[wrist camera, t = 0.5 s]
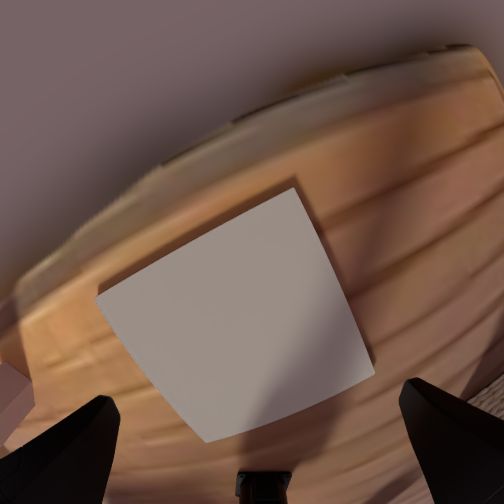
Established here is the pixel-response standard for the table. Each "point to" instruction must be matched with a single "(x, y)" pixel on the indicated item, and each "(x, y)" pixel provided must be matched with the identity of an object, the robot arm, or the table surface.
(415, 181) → the table surface
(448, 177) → the table surface
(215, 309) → the white square plate
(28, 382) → the rose card box
